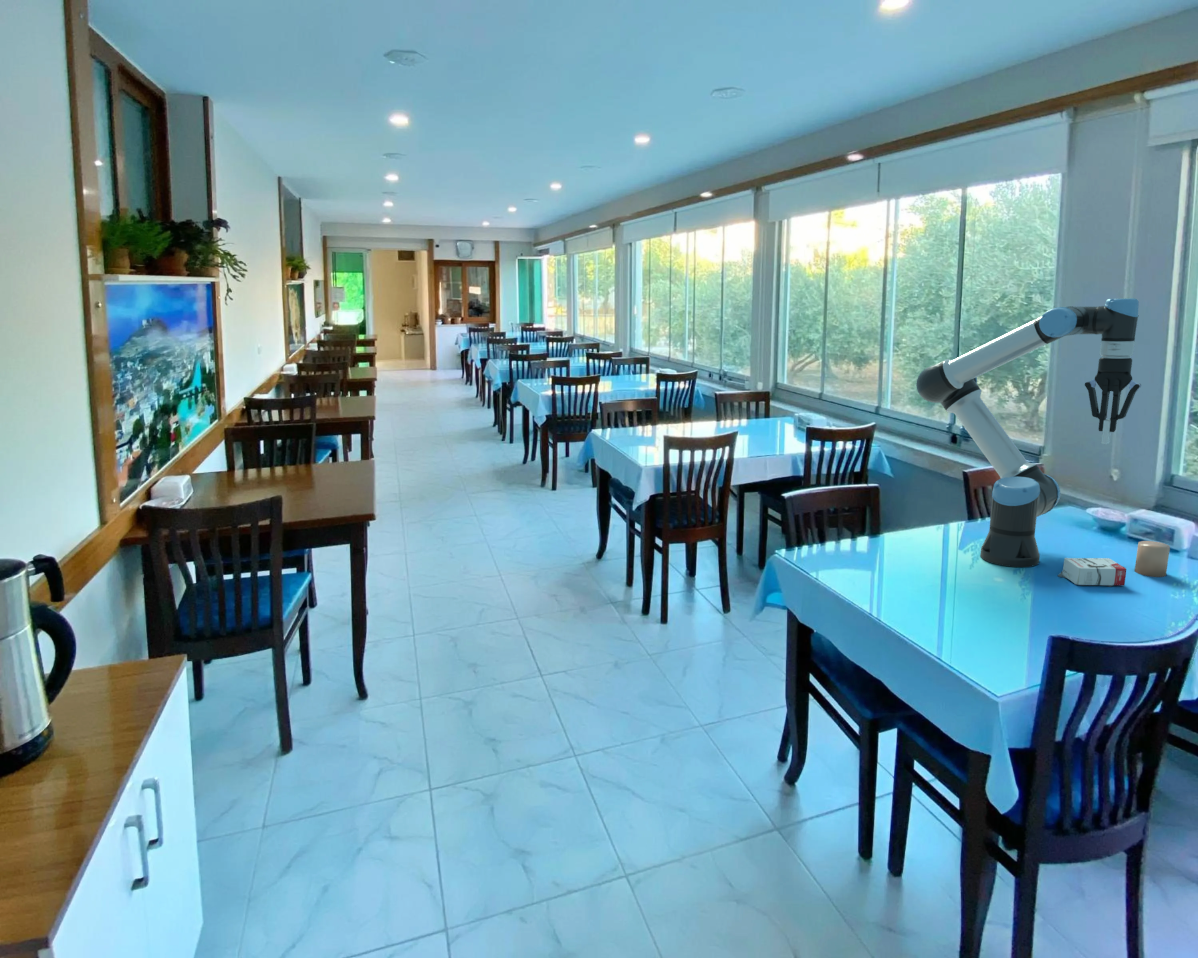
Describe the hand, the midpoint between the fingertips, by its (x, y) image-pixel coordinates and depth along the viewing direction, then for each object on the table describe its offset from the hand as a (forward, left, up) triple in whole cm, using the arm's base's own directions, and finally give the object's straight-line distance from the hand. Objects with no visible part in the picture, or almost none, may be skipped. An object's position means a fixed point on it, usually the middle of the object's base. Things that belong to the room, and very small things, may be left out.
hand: (1105, 443), depth 211 cm
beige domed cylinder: (+14, 0, -35) cm, 37 cm away
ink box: (+9, -13, -32) cm, 36 cm away
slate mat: (+2, -12, -34) cm, 37 cm away
